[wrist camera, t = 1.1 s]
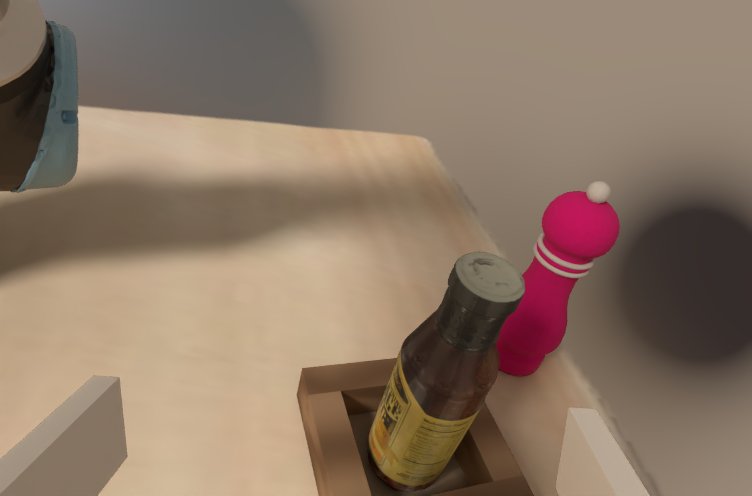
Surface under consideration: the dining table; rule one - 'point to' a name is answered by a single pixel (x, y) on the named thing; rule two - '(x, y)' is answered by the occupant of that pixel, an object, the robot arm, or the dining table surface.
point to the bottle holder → (364, 394)
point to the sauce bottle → (444, 373)
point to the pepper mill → (556, 275)
